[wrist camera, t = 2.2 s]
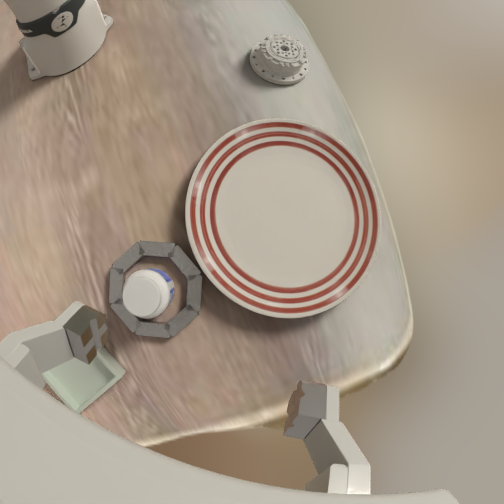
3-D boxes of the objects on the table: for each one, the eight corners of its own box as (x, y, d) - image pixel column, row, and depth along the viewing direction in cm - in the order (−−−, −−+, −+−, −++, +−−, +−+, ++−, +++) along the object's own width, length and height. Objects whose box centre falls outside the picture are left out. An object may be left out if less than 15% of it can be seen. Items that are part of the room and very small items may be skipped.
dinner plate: (170, 142, 38) (168, 132, 35) (343, 120, 43) (352, 111, 39) (212, 336, 38) (213, 342, 35) (385, 285, 42) (398, 286, 39)
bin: (34, 352, 33) (26, 356, 30) (74, 309, 35) (66, 312, 32) (82, 408, 34) (76, 415, 31) (126, 371, 35) (121, 377, 33)
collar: (95, 283, 35) (92, 283, 34) (160, 223, 37) (159, 222, 36) (153, 352, 36) (152, 354, 35) (220, 294, 38) (221, 295, 37)
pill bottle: (130, 276, 36) (107, 279, 27) (167, 262, 37) (155, 261, 28) (144, 314, 36) (126, 330, 27) (181, 302, 37) (174, 314, 28)
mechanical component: (250, 84, 40) (310, 89, 42) (255, 68, 36) (319, 74, 38) (247, 42, 41) (302, 47, 42) (251, 26, 36) (309, 33, 38)
